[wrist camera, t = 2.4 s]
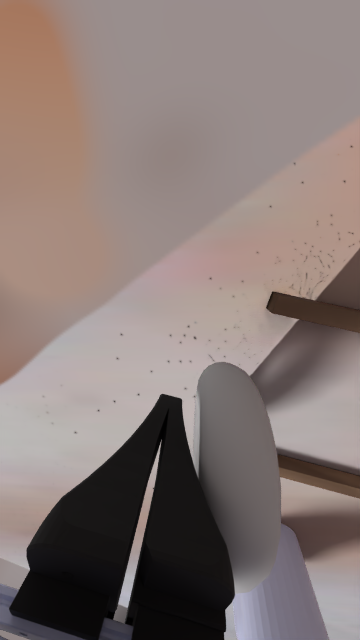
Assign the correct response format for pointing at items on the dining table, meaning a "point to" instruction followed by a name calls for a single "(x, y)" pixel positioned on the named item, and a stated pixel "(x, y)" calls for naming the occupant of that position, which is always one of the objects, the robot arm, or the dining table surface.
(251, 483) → the donut
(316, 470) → the guide track
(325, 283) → the dining table surface
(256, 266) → the dining table surface
